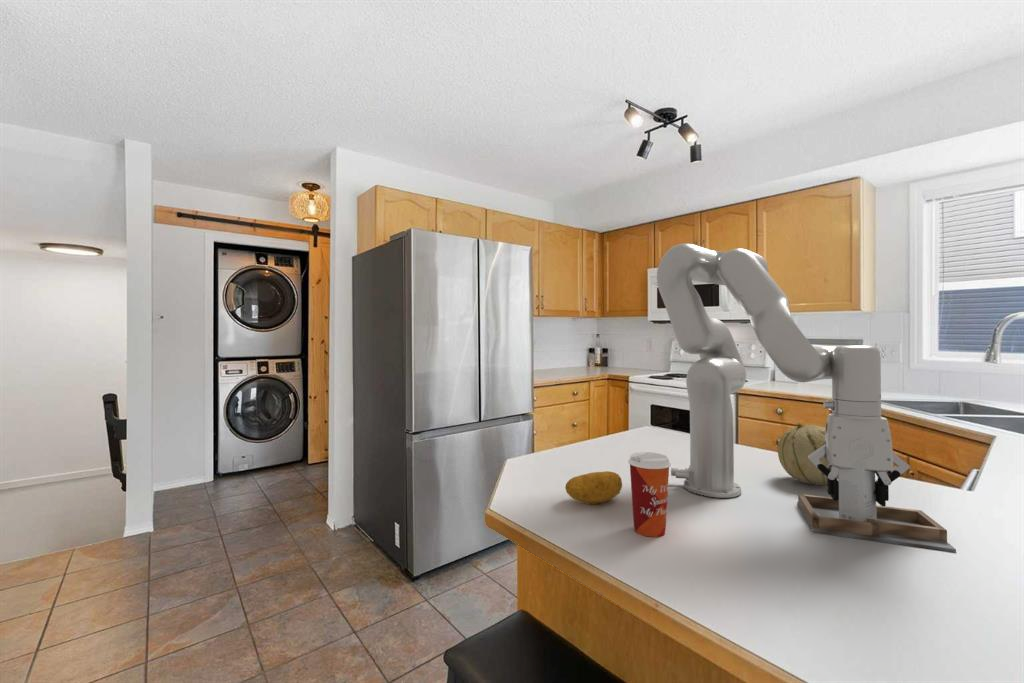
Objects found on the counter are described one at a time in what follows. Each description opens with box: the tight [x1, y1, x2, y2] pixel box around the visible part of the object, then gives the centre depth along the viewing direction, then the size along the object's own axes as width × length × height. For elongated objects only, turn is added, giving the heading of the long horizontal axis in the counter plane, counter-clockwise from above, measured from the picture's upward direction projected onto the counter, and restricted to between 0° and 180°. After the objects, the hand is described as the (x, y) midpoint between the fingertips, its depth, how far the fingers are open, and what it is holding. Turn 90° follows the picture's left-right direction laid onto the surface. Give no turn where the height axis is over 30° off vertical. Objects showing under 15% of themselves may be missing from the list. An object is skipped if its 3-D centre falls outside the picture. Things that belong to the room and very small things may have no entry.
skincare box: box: [838, 461, 877, 522], centre depth 86 cm, size 6×4×12 cm
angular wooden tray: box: [797, 493, 957, 553], centre depth 85 cm, size 20×16×2 cm
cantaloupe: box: [777, 422, 838, 486], centre depth 111 cm, size 15×15×15 cm
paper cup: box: [627, 451, 672, 538], centre depth 83 cm, size 8×8×14 cm
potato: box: [564, 471, 623, 505], centre depth 98 cm, size 8×14×7 cm, turn 110°
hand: (857, 500), depth 86 cm, fingers closed on skincare box, 6 cm apart
